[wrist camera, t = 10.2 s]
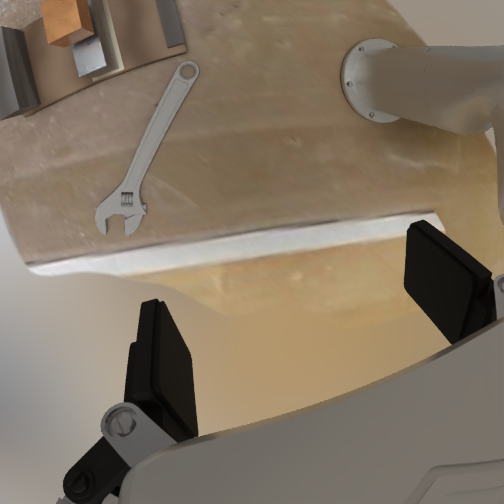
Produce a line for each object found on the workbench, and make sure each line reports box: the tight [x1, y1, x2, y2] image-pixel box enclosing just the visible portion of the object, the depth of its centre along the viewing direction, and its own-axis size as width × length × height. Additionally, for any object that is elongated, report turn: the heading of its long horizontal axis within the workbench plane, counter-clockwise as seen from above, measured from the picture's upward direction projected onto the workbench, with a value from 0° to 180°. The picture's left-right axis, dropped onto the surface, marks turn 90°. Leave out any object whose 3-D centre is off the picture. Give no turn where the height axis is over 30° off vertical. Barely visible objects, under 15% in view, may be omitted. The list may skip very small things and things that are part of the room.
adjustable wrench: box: [95, 61, 199, 236], centre depth 38 cm, size 25×6×2 cm, turn 146°
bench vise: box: [0, 0, 187, 121], centre depth 26 cm, size 22×12×8 cm, turn 103°
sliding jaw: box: [41, 0, 119, 78], centre depth 22 cm, size 3×11×12 cm, turn 13°
